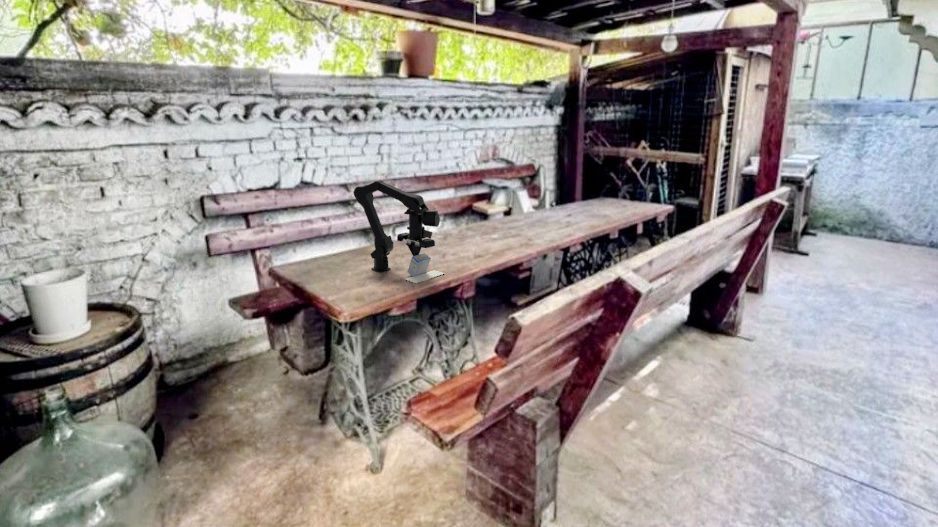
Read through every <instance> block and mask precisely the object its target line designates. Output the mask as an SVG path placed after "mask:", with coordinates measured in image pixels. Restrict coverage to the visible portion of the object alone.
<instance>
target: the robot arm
mask: <svg viewBox="0 0 938 527" xmlns="http://www.w3.org/2000/svg"><path fill="white" fill-rule="evenodd" d="M377 191H378V192H380V193H382V194H384V195H386V196H388V197H391V198H392V199H395V200H397V201H399V202H400V203H401V204H403V206H404V207H406V208H407V210H406V211H404V213H403V214H404V215H408V226H406V227H407V228H406V229H407V230H408V231H409V232H403V233H399V234H397V236H396V240H397V241H398V242H403V241H404V240H406V243H405V245H406V246H407V248H408V250H409V251H410V253H411V255H412V256H416V255H419V254H421V253H420V252H421V250H422V248H423V249H429V248H433V247H436V241H435V240H434V239H432V236H433V231H430V230H426V229H425V227H434V228H437V227H439V225H440V221H441V217H440V215H439V211H438V210H430V209H429V208H428V206H427V205H426V203H425V200H424V197H423V196H422V195H420V194H416V193H412V192H406V191H404V190H402V189H399V188H397V187H395V186H393V185H391V184H390V183H389V184H388V183H386V182H384V181H383V180H381V179H378V180H375V181H373V182H372V183H369V184H362V185H360V186H356V187H355V188H354V189H353V197H354V198H355V200H356V201H357V203H358V204H359V205H360V206H362V208H363V211H364V213H365V216H366V218H367V222H368V224H369V226H370V228H371V232H372V235H373V238H374V240H373V241H374V242H373V244H374V248H375V249H374V250H373V251H372V252H371V253H370V256H371V259H373V267H371V270H373V271H375V272H379V273H383V272H385V271H389V270H391V269H392V268H391V267H389V257H388V256H389V255H390V254H391V252H392V251H393V249H394V241H393V240H392V239H393V238H392V236H391V235H388V234H386V233H385V231H384V228H383V225H382V222H381V220H380V217H379V215H378V213H377V210H376V207H375V205H374V193H375V192H377ZM423 225H424V226H423Z"/></svg>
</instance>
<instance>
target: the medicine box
mask: <svg viewBox="0 0 938 527" xmlns="http://www.w3.org/2000/svg"><path fill="white" fill-rule="evenodd" d="M431 259H432V258H431V257H430V256H429V255H428V254H426V253H425V252H422V253H419V255H416V256H413V255H412V256H411V258H410V262H409V264H408V268H407V273H408V274H409V275H411V277H414V276H417V275H420V274H423V273H427V272H428V271H427V270H428V268H429V265H430V262H431Z"/></svg>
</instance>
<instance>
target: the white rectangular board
mask: <svg viewBox="0 0 938 527" xmlns="http://www.w3.org/2000/svg"><path fill="white" fill-rule="evenodd" d="M443 274H444V275H445V274H446V273H445V272H442V271H438V270H436V269H433V270H431V271H426V273H423V274H420V275H417V276H414V277H413V276H411V277H407V278H405V279H404V281H406V280H407V281H406V282H409V281H410V282H409V283H411V282H413V283H412V284H414V283H416V284H419V283H418V282H420V283H422V282H421V281H423V282H425V280H426V281H428V279H429V280H432V279H434V277H435V278H437V276H438V277H441V276H444V275H443ZM440 275H441V276H440ZM431 278H432V279H431Z"/></svg>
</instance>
